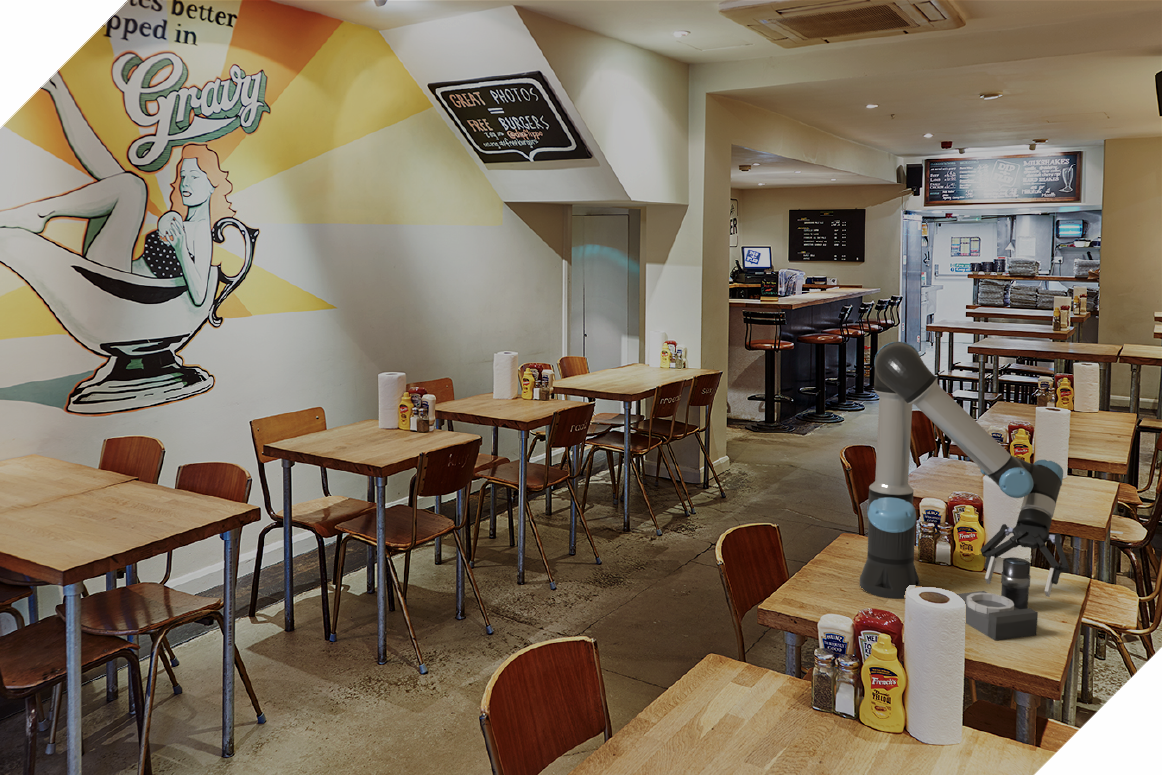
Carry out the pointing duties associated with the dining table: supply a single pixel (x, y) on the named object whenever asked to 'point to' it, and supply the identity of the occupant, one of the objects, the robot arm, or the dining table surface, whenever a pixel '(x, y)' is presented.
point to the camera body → (998, 616)
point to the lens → (1016, 581)
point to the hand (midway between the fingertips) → (1016, 587)
